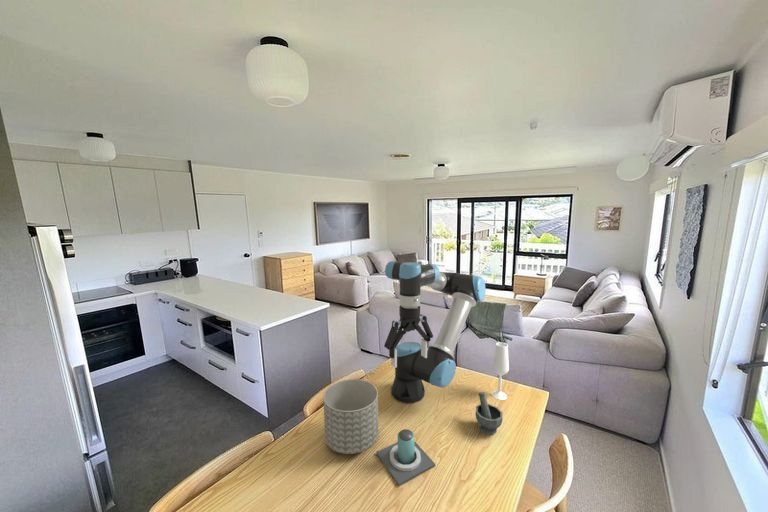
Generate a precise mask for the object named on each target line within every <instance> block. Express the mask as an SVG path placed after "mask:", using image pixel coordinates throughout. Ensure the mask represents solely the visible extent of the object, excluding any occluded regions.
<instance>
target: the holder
mask: <svg viewBox="0 0 768 512" xmlns="http://www.w3.org/2000/svg"><path fill="white" fill-rule="evenodd" d="M376 456H377V457H378V458H379V460H380V461H381V463H382V465H383V466H384V467H385V468H386V470H387V471H388V473H389V474H390V476H391V477H392V479H393V480H394V482H395V483H396V485H397V486H398V487H401V486H402V485H405V484H406V483H408V482H409V481H411V480H413V479H415V478H417V477H419V476H421V475H422V474H424V473H426V472H427V471H430V470H431V469H434V468H435V467H436V463H435V462H434V460H432V459H431V458H430V456H429V455H428V454H427V453H426V452H425V450H423V448H421V446H420V445H419V444H418V443H417V442H416V441H415V440H414V462H413V463H411V464H409V465H404V464H402V463H400V462H399V461H398V441H397V442H395V443H393V444H391V445H388V446H386V447H384V448H382V449H380V450H377V451H376Z"/></svg>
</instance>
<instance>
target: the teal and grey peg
mask: <svg viewBox="0 0 768 512" xmlns="http://www.w3.org/2000/svg"><path fill="white" fill-rule="evenodd" d="M415 438H416V437H415V433H414V432H413V431H412V430H410V429H406V428H405V429H401V430H399V431H398V433H397V442H398V461H399V462H400V463H402V464H404V465H409V464H411V463H413V462H414V441H415V440H416V439H415Z"/></svg>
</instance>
